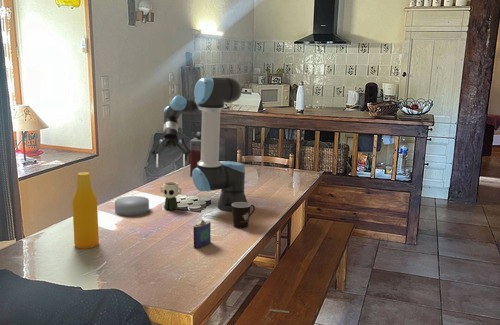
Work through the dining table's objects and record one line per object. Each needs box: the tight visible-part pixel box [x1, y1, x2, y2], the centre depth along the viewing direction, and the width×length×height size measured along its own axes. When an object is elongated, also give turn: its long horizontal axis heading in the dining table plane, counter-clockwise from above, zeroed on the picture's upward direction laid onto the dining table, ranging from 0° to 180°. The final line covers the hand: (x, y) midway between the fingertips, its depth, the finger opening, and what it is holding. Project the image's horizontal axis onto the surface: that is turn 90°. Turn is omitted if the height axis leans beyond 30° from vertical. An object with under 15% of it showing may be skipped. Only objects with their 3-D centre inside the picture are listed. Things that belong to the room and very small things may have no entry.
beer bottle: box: [71, 171, 100, 250], centre depth 189 cm, size 9×9×29 cm
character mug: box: [160, 181, 182, 211], centre depth 238 cm, size 11×7×13 cm, turn 75°
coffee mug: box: [231, 202, 256, 229], centre depth 217 cm, size 12×9×10 cm
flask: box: [192, 219, 212, 249], centre depth 194 cm, size 9×3×11 cm, turn 144°
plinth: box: [114, 195, 150, 217], centre depth 235 cm, size 16×16×5 cm
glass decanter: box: [188, 131, 201, 178], centre depth 306 cm, size 9×11×28 cm
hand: (170, 166), depth 247 cm, fingers open, 13 cm apart
